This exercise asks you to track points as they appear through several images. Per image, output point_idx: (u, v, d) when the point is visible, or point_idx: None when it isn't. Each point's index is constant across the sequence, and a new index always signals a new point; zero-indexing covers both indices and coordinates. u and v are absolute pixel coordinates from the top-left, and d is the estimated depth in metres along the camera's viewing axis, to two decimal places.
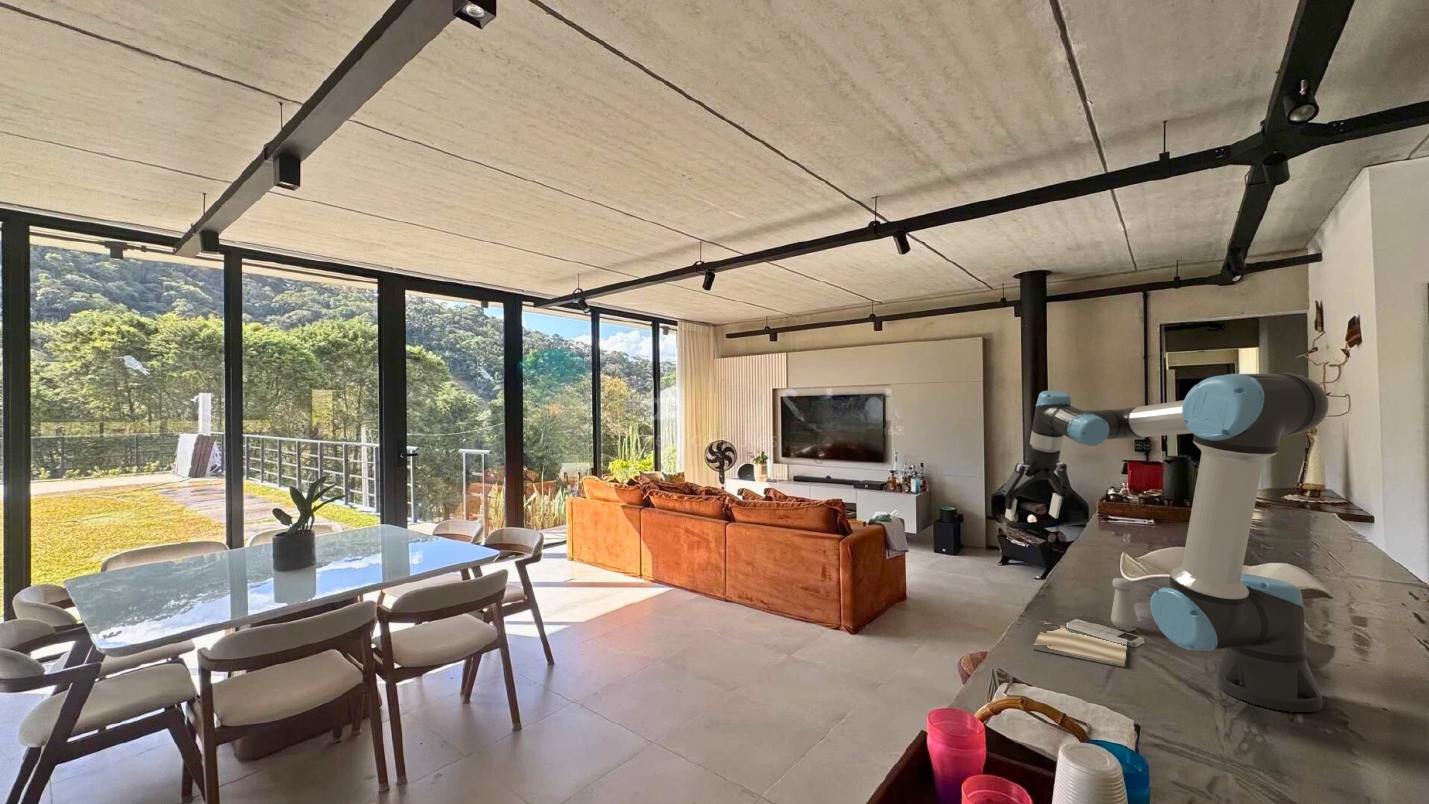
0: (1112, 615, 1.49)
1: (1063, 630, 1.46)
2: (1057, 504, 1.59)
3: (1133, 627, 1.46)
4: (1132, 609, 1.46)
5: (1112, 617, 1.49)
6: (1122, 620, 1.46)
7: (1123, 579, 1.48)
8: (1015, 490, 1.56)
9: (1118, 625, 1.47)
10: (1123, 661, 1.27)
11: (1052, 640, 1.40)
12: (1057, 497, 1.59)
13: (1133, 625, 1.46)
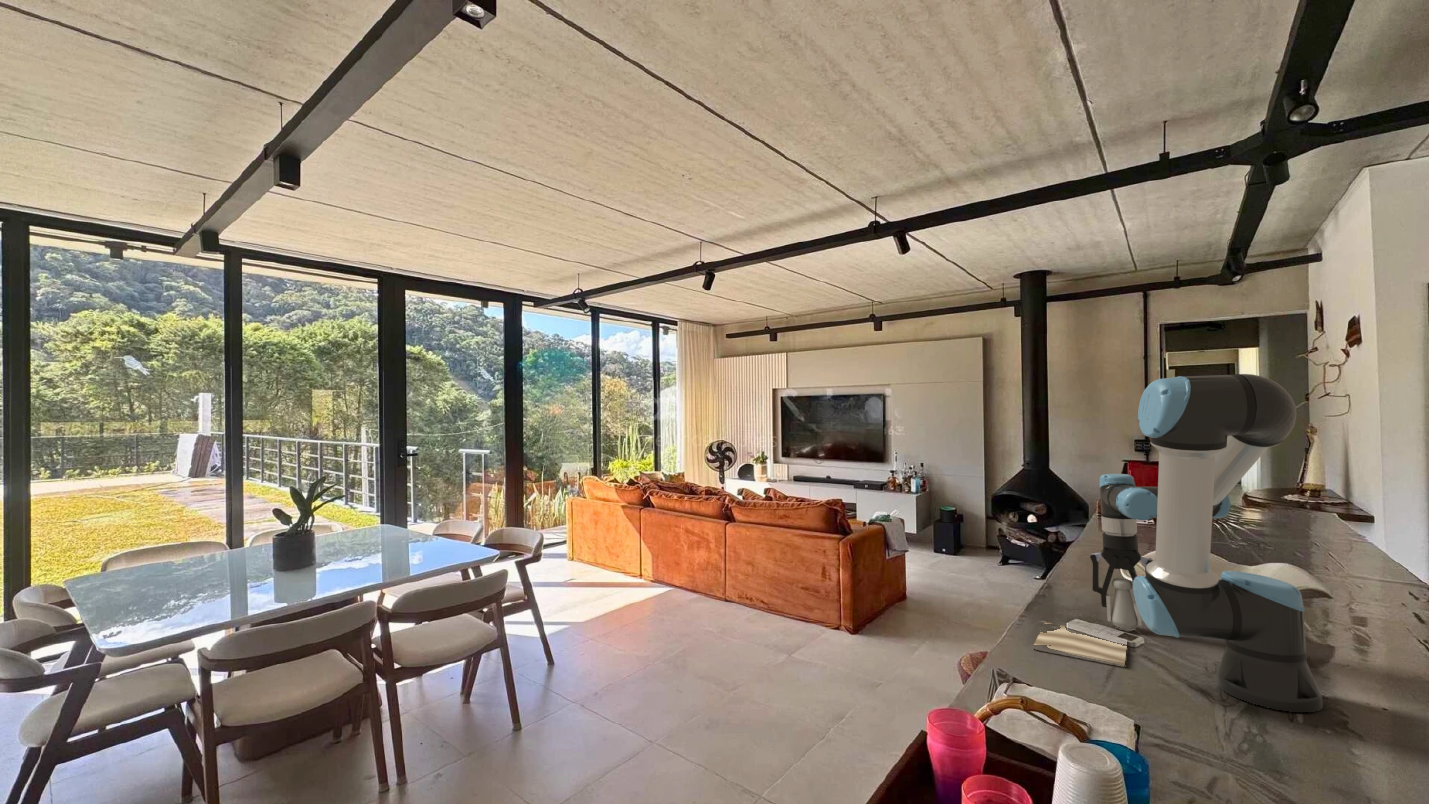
0: (1112, 615, 1.49)
1: (1063, 630, 1.46)
2: (1137, 609, 1.46)
3: (1133, 627, 1.46)
4: (1132, 609, 1.46)
5: (1112, 617, 1.49)
6: (1122, 620, 1.46)
7: (1123, 579, 1.48)
8: (1103, 585, 1.50)
9: (1118, 625, 1.47)
10: (1123, 661, 1.27)
11: (1052, 640, 1.40)
12: None
13: (1133, 625, 1.46)
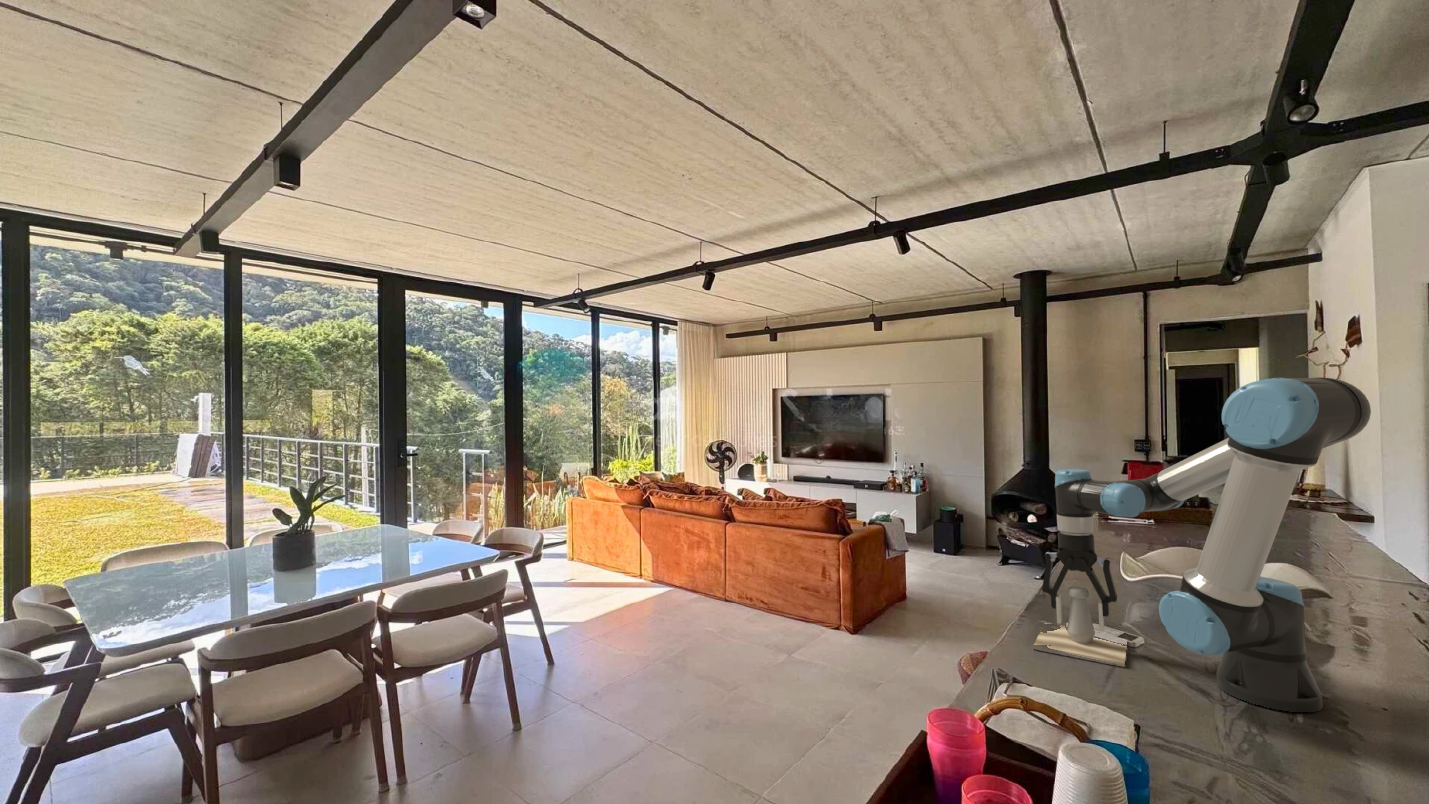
0: (1068, 626, 1.40)
1: (1063, 630, 1.46)
2: None
3: (1089, 639, 1.37)
4: (1088, 619, 1.37)
5: (1068, 628, 1.40)
6: (1078, 631, 1.37)
7: (1079, 587, 1.39)
8: (1054, 585, 1.42)
9: (1074, 637, 1.38)
10: (1123, 661, 1.27)
11: (1052, 640, 1.40)
12: None
13: (1089, 637, 1.36)
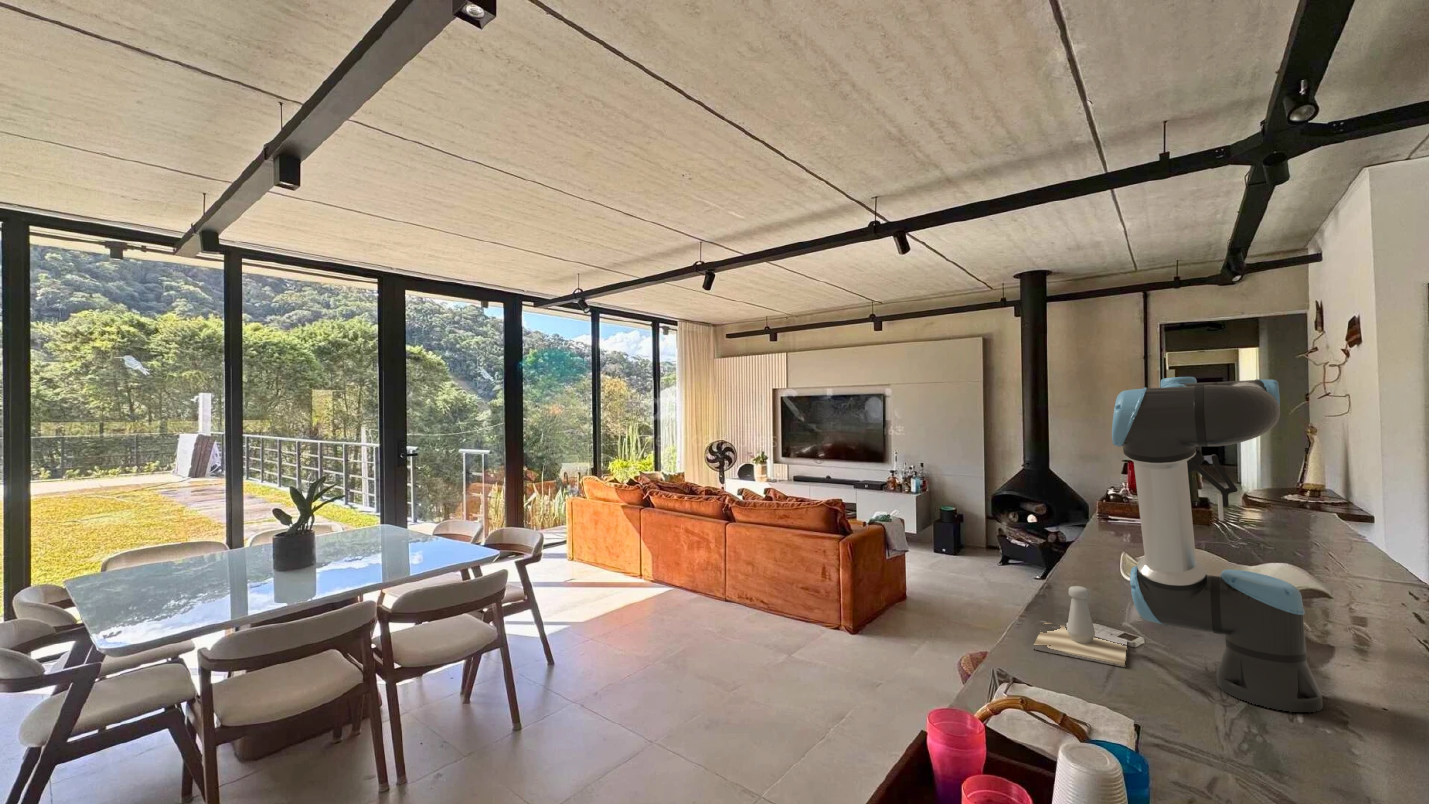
0: (1068, 626, 1.40)
1: (1063, 630, 1.46)
2: (1218, 503, 1.43)
3: (1089, 639, 1.37)
4: (1089, 619, 1.37)
5: (1068, 628, 1.40)
6: (1078, 631, 1.37)
7: (1080, 587, 1.39)
8: None
9: (1074, 637, 1.38)
10: (1123, 661, 1.27)
11: (1052, 640, 1.40)
12: (1218, 495, 1.43)
13: (1089, 637, 1.36)
